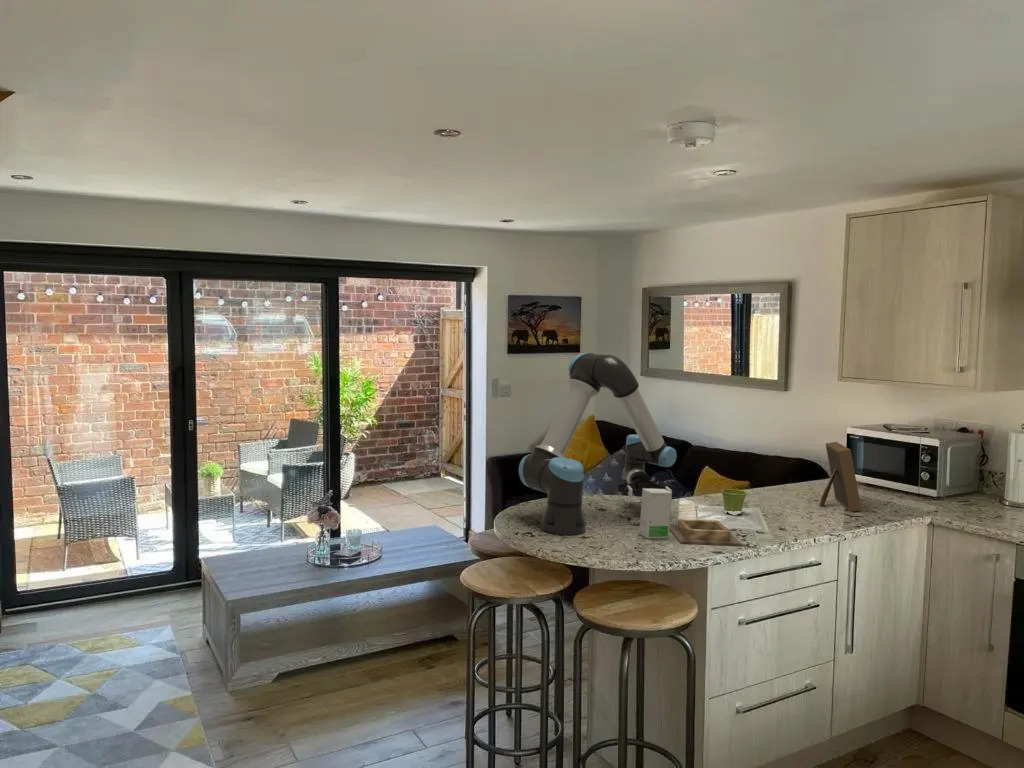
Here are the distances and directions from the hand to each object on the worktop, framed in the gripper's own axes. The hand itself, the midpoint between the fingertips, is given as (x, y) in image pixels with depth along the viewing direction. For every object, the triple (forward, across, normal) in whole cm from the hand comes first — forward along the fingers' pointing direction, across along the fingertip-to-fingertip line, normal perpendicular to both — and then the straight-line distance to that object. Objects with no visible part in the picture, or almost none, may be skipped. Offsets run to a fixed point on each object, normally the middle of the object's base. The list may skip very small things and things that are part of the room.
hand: (650, 494), depth 260 cm
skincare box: (+10, 0, -12) cm, 16 cm away
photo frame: (-49, -88, -14) cm, 101 cm away
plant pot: (-26, -38, -13) cm, 47 cm away
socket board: (+8, -16, -12) cm, 22 cm away
